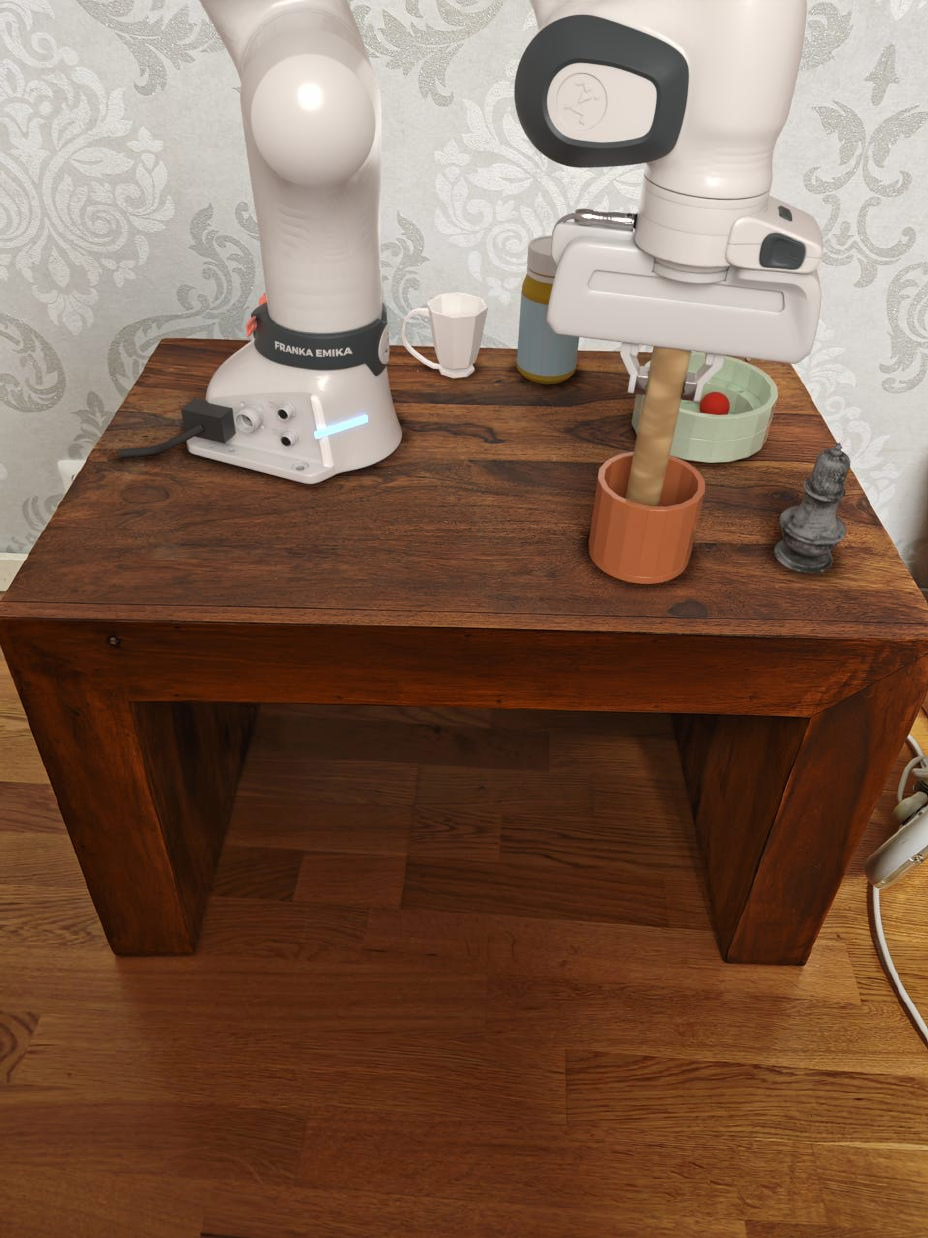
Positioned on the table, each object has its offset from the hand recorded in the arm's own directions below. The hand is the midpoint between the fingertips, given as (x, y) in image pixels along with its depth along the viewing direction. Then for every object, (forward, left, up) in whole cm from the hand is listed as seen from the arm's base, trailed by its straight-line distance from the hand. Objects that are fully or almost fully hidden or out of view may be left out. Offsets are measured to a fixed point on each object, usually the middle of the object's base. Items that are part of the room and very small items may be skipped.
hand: (663, 394), depth 79 cm
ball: (+7, +25, -14) cm, 29 cm away
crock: (0, 0, -16) cm, 16 cm away
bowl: (+5, +23, -16) cm, 28 cm away
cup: (-25, +31, -16) cm, 43 cm away
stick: (0, 0, -12) cm, 12 cm away
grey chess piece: (+15, +3, -16) cm, 22 cm away
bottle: (-13, +33, -16) cm, 39 cm away
